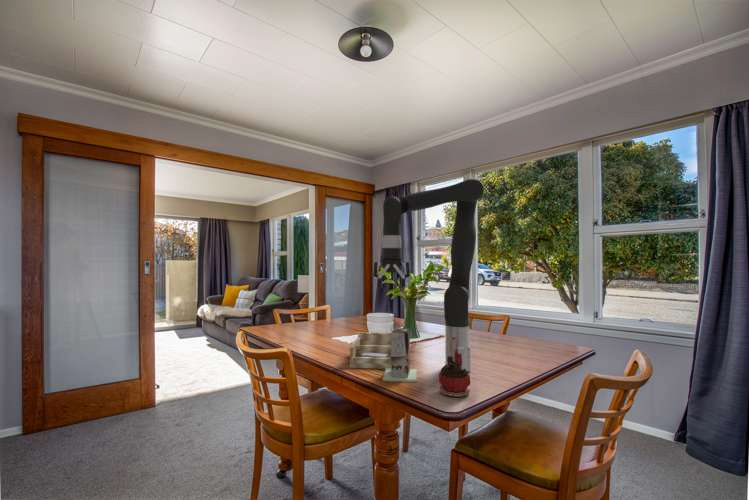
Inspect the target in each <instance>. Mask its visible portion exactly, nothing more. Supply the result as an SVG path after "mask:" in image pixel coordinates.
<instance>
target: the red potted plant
mask: <svg viewBox="0 0 749 500" xmlns="http://www.w3.org/2000/svg"><path fill="white" fill-rule="evenodd" d="M452 349H453V357H452V356H448V357H447V362H448V365H446V364H444V365H443V366H442V367H441V369H440V371H439V373H438V383H439V384H440V386H439V387H438V391H439V392H440V393H441V394H443V395H447V396H450V397H451V396H452V397H463V396H467V395H469V394H470V391H471V389H470V388H469V386H470V385H471V376H470V374H469V373H468V372H467V370H466V369H465V368H464V365H463V363H462V355H461V354H464V348H456V351H455V337H452Z"/></svg>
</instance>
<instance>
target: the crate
mask: <svg viewBox="0 0 749 500" xmlns="http://www.w3.org/2000/svg"><path fill="white" fill-rule="evenodd" d="M365 352H371V353H381V354H388V358H371V357H362V354H363V353H365ZM349 368H350V369H353V368H354V369H355V368H356V369H381V370H383V369H384V370H385V369H386V368H391V332H368V331H367V332H365V331H364V332H363V331H362V332H359V331H358V332H357V338H356V339H355V340H354V342H353V343H352V344H351V346H350V347H349Z"/></svg>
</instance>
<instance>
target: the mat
mask: <svg viewBox="0 0 749 500" xmlns="http://www.w3.org/2000/svg"><path fill="white" fill-rule="evenodd" d="M384 370H385V371H384V374H383V376H382V382H403V383H407V382H408V383H417V382H418V381H417V380H418V375H417V373H418V370H417V368H410V372H409V375H408V377H407V378H406V377H392V376H391V368H386V369H384Z"/></svg>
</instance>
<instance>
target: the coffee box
mask: <svg viewBox="0 0 749 500" xmlns="http://www.w3.org/2000/svg"><path fill="white" fill-rule="evenodd" d="M390 333H391V376H392V377H406V378H407V377H408V375H409V372H410V369H411V329H410V328H407V327H404V328H403V327H401V328H400V327H397V328H396V327H395V328H393V329H392V330H391V332H390Z"/></svg>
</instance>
